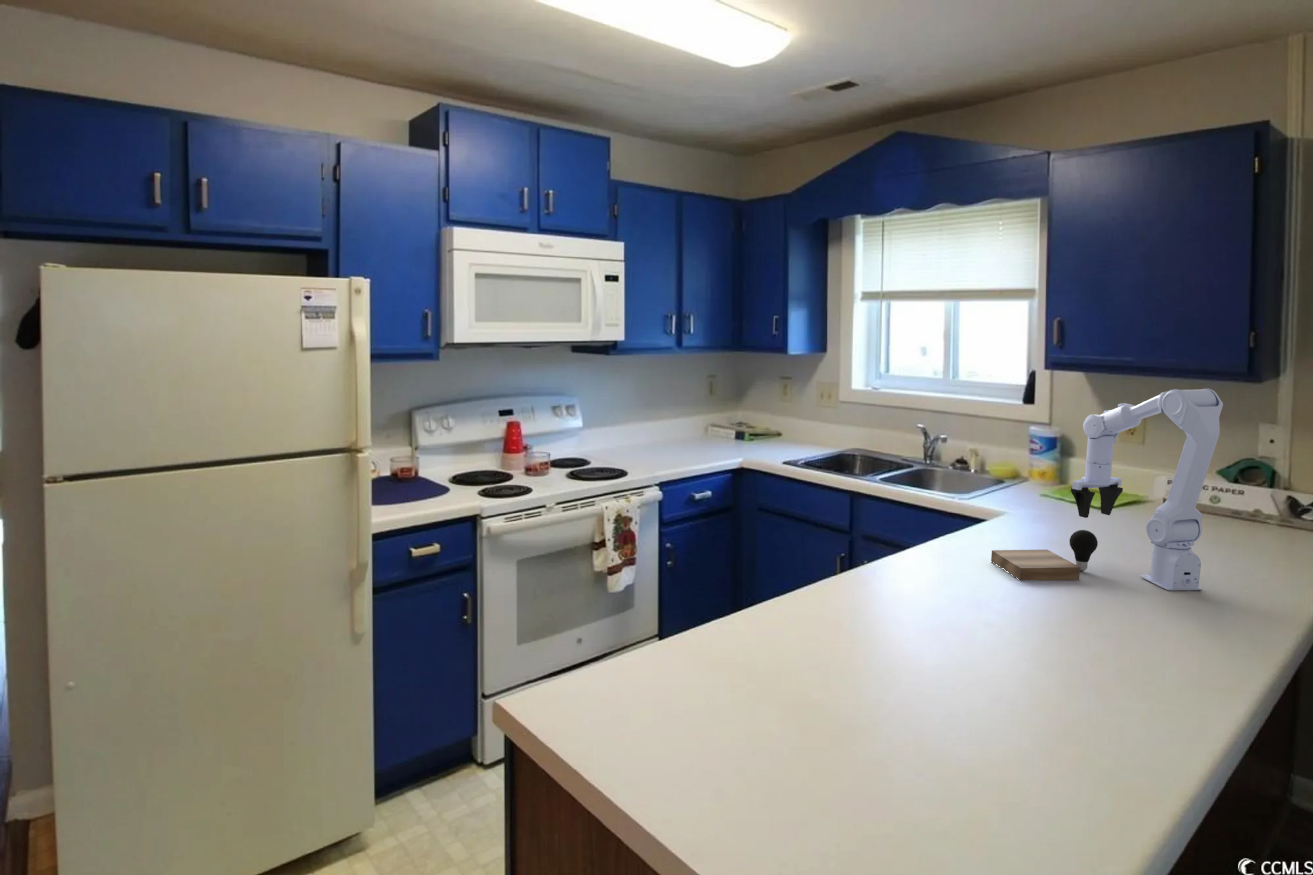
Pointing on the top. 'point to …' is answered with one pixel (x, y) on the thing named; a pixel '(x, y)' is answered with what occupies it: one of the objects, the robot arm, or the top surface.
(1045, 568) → the walnut plinth
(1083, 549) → the light bulb
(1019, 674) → the top surface
